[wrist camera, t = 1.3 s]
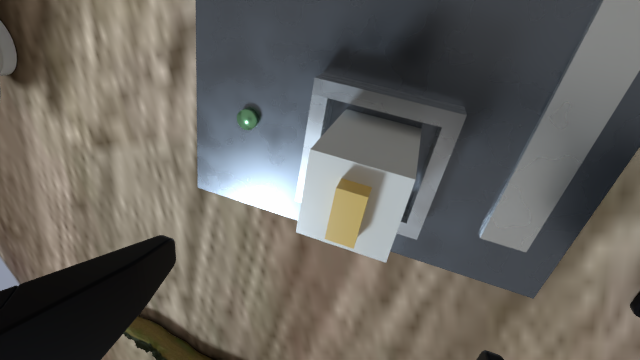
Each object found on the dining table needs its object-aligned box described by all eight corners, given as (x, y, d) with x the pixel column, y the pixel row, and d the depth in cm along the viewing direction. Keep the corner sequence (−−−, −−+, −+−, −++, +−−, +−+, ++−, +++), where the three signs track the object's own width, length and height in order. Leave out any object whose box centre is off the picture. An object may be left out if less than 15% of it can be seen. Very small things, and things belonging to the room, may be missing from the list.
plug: (421, 128, 17) (414, 189, 11) (399, 194, 19) (383, 275, 13) (346, 109, 18) (303, 157, 12) (332, 174, 20) (289, 243, 14)
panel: (978, -381, 9) (1159, -511, 6) (529, 286, 20) (540, 319, 18) (207, -377, 12) (161, -456, 10) (206, 181, 24) (183, 197, 22)
